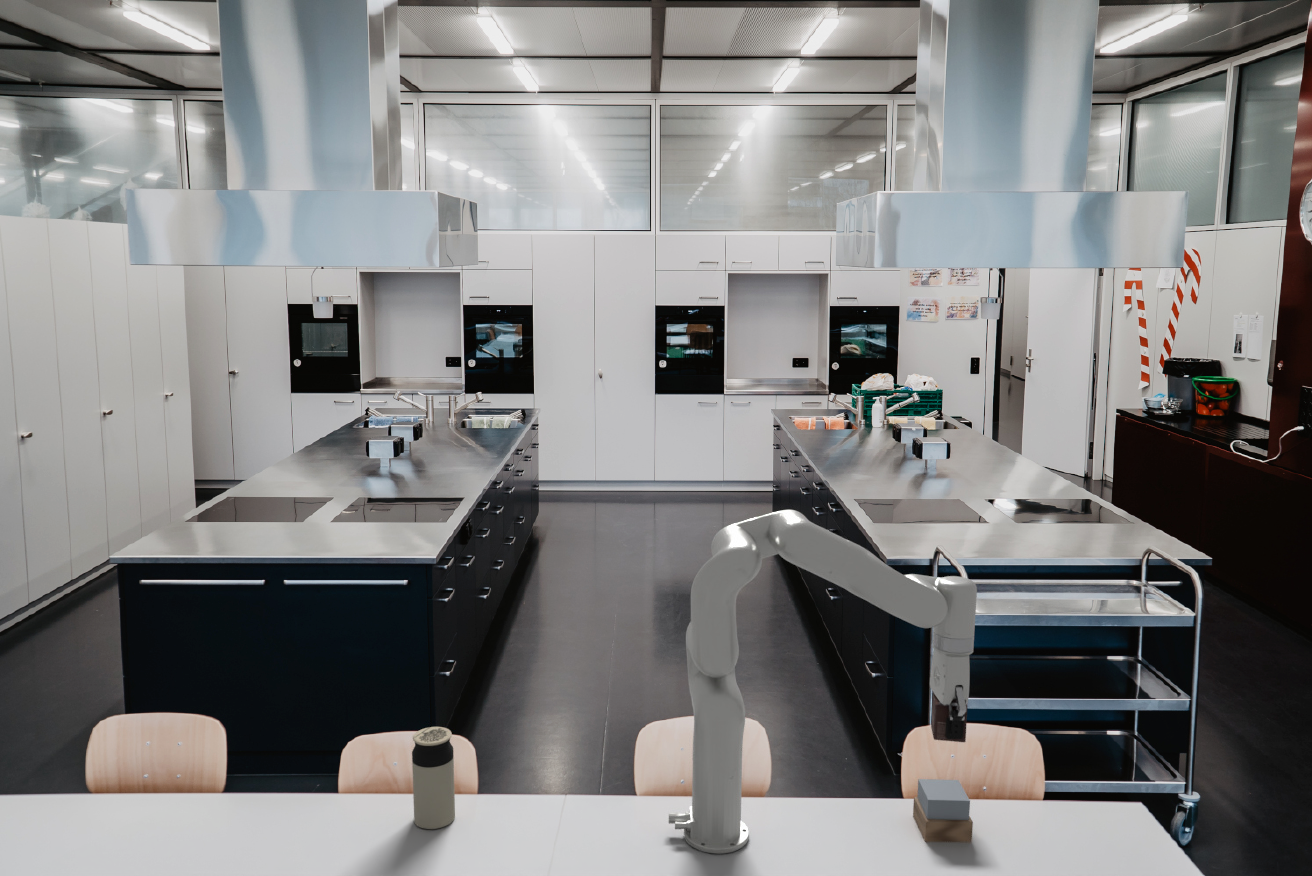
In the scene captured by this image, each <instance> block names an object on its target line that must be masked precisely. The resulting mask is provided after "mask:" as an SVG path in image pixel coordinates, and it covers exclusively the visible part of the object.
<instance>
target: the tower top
mask: <svg viewBox="0 0 1312 876" xmlns="http://www.w3.org/2000/svg"><path fill="white" fill-rule="evenodd" d="M917 780H918V781H917V795H916V797H917V798H918V800H919V802H920V804H921V807H922V809H923V811H924V813H925V815H926V818H927V819H943V820H969V816H970V809H971V807H970V806H971V800H970V798H969V796H968V795H967V793H966V790H965V789H964V787H963V786H962V783H961V782H960V780H959V779H941V778H940V779H932V778H930V779H929V778H927V779H926V778H918V779H917Z"/></svg>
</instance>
